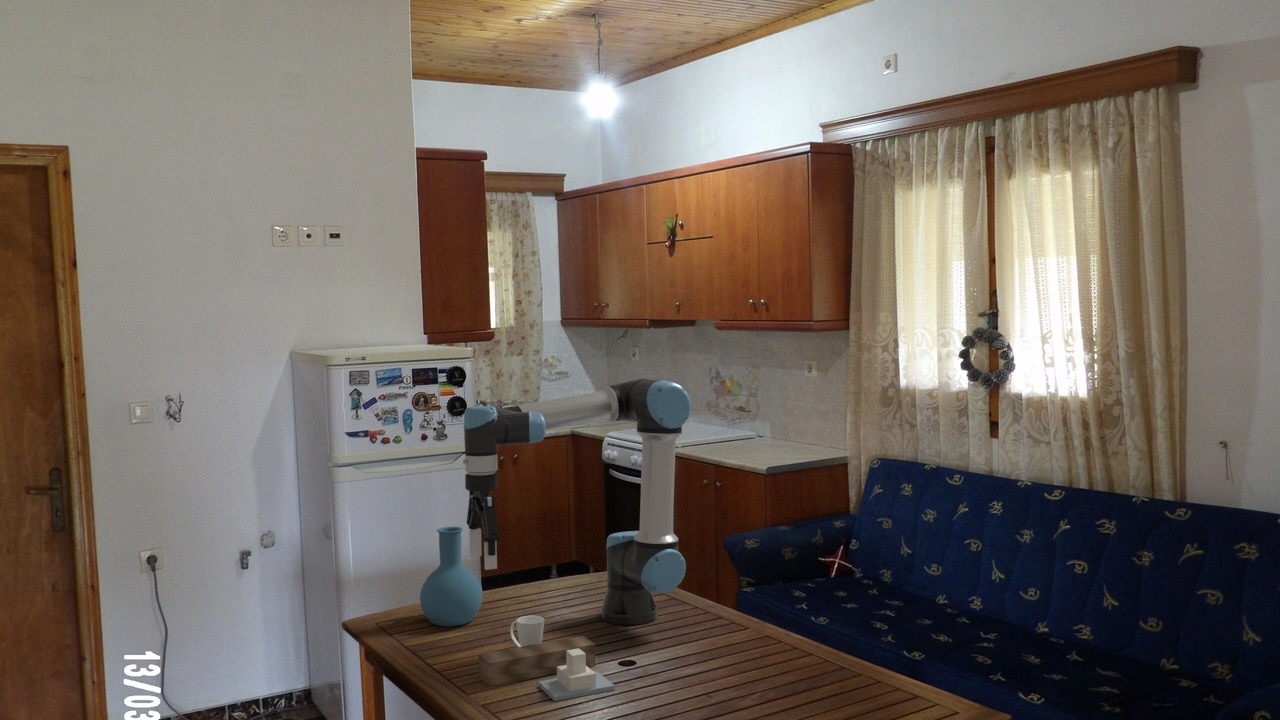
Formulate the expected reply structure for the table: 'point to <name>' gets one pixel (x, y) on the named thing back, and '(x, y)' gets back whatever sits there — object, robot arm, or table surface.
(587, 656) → the beam
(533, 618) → the cup
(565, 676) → the fulcrum
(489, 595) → the table surface
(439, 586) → the vase
